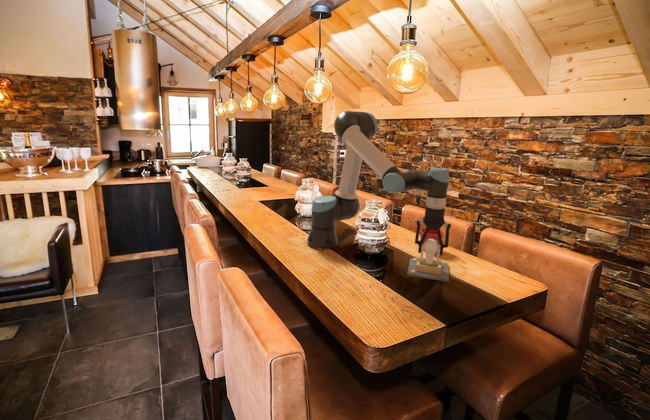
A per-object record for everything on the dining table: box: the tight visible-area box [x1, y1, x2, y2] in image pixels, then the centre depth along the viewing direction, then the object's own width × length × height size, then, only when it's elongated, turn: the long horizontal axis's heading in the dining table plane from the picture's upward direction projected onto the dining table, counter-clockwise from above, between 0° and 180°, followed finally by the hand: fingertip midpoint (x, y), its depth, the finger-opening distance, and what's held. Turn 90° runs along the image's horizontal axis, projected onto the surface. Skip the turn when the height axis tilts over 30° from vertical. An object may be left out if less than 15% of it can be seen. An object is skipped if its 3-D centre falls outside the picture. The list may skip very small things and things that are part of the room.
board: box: [406, 256, 450, 283], centre depth 149 cm, size 16×18×4 cm
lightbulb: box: [423, 239, 440, 265], centre depth 147 cm, size 6×6×11 cm
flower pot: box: [419, 227, 444, 252], centre depth 173 cm, size 11×11×10 cm
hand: (429, 261), depth 148 cm, fingers closed on lightbulb, 6 cm apart
